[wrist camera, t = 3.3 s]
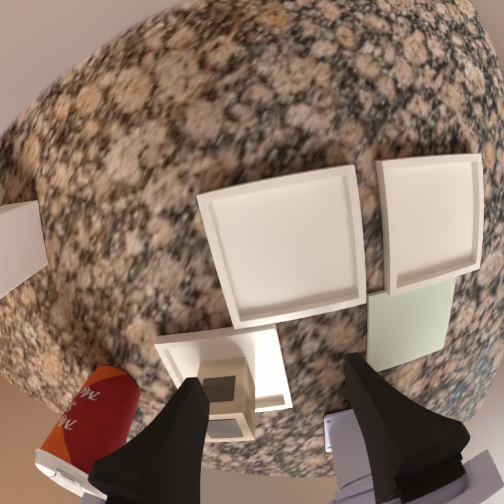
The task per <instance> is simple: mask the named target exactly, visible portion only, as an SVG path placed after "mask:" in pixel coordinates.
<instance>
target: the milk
mask: <svg viewBox="0 0 504 504" xmlns="http://www.w3.org/2000/svg"><path fill="white" fill-rule="evenodd" d="M47 265H48V259H47V254H46V249H45V244H44V238H43V233H42V226H41V220H40V212H39V204H38V200H35V201H28V202H21V203H14V204H8V205H3V206H0V299H1V298H2V297H3V296H5V295H6V294H7V293H9V292H10V291H11V290H13V289H14V288H15V287H17V286H18V285H19V284H21V283H22V282H24V281H25V280H26V279H28V278H29V277H31V276H32V275H33V274H35V273H36V272H38V271H39V270H41V269H42V268H44V267H45V266H47Z"/></svg>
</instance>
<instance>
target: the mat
mask: <svg viewBox="0 0 504 504" xmlns="http://www.w3.org/2000/svg"><path fill="white" fill-rule="evenodd" d="M455 279H456V277H454V278H451V279H448V280H445V281H442V282H439V283H436V284H432V285H429V286H426V287H423V288H419V289H416V290H413V291H409V292H406V293H402V294H399V295H395V296H392V297H390V296H389V295H388V294H387V293H386V292H385V290H381V291H377V292H374V293H370V294H367V352H366V361H367V363H368V364H369V365H370V366H371V367H372V368H373V369H374V370H375V371H376V372H378V371H382V370H385V369H388V368H391V367H394V366H397V365H400V364H403V363H406V362H409V361H412V360H414V359H417V358H420V357H422V356H425V355H428V354H430V353H433V352H435V351H438V350H440V349H443V345H444V341H445V337H446V333H447V328H448V323H449V318H450V313H451V307H452V301H453V294H454V287H455Z"/></svg>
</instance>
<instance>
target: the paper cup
mask: <svg viewBox="0 0 504 504" xmlns="http://www.w3.org/2000/svg"><path fill="white" fill-rule="evenodd" d="M139 397H140V388H139V386H138V384H137V383H136V381H135V380H134V379H133V378H132V377H131V376H130V375H129V374H127V373H126V372H124V371H122V370H121V369H119V368H116V367H113V366H109V365H102V366H99V367H98V368H97V369H96V370H95V371H94V372H93V374H92V375H91V376H90V378H89V379H88V380H87V381H86V383H85V384H84V386H83V387H82V388H81V390H80V391H79V392H78V394H77V395H76V397H75V398H74V399H73V401H72V402H71V404H70V405H69V406H68V408H67V409H66V411H65V412H64V414H63V415H62V417H61V418H60V420H59V421H58V422H57V424H56V425H55V427H54V428H53V430H52V431H51V433H50V435H49V436H48V438H47V439H46V441H45V442H44V444H43V445H42V447H41V449H36V450H35V453H36V455H37V456H36V459H35V465H36V466H37V468H38V469H39V470H41V471H42V472H43V473H44V474H45V475H47V476H48V477H49V478H51V479H52V480H53V481H55V482H56V483H58V484H59V485H61V486H62V487H64V488H66V489H68V490H70V491H71V492H73V493H75V494H77V495H79V496H81V497H83V494H84V492H87V493H89V494H92V495H95V496H98V497H100V498H103V499H105V500H106V499H107V496H106V495H105V494H103V493H102V492H100V491H99V490H98V489H96V488H95V487H93V486H92V485H91V484H90V483H89V482H88V480H87V478H88V476H89V473H90V471H91V469H92V466H93V464H94V462H95V461H96V460H99V459H101V458H103V457H105V456H107V455H109V454H111V453H112V452H114V451H116V450H117V449H119V448H121V447H122V446H124V445H125V443H126V440H127V437H128V433H129V430H130V427H131V423H132V420H133V417H134V414H135V410H136V407H137V404H138V401H139Z"/></svg>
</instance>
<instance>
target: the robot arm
mask: <svg viewBox="0 0 504 504" xmlns="http://www.w3.org/2000/svg"><path fill="white" fill-rule="evenodd" d="M345 385H346V389H347V393H348V397H349V400H350V403H351V406H352V408H353V409H349V410H345V411H341V412H337V413H332V414H328V415H325V416H324V433H325V450H326V452H332V455H333V461H334V466H335V471H336V477H337V482H338V488H339V490H338V491H335V492H334V495H335V499H332V500H330V502H329V503H328V504H480V503H482V502H483V501H485V500H486V499H488V498H489V497H491V496H492V495H493V494H495V493H496V492H497V491H498V490H500V489H501V488H503V486H504V483H503V481H502V479H501V476H500V474H499V472H498V470H497V468H496V466H495V464H494V461H493V459H492V457H491V456H490V453H489V452H488V450H485V451H483V452H482V453H480V454H479V455H477V456H475V457H474V458H473V459H471V460H469V461H467V462H466V463H465V464H464V465H462V463H461V460H462V455H461V451H462V450H463V449H464V448H465V446H466V445H467V444H468V442H469V440H470V435H469V433H468V431H467V429H466V428H465V426H464V425H463V424H462V422H461V421H457V420H454V419H451V418H447V417H444V416H442V415H439V414H437V413H434V412H432V411H430V410H428V409H426V408H424V407H422V406H421V405H419V404H417V403H415V402H414V401H412V400H410V399H409V398H407V397H406V396H405V395H403V394H402V393H400V392H399V391H398V390H396V389H395V388H394V387H393V386H392V385H390V384H389V383H388V382H387V381H386V380H385V379H384V378H382V377H381V376H380V375H379V374H378V373H377V372H376V371H375V370H374V369H373V368H372V367H371V366H370V365H369V364H368V363H367V361H366V360H365V359H364V358H363V357H362V356H361V355H360V353H358V352H355V353H351V354H347V355H345ZM209 412H210V401H209V399H208V397H207V395H206V393H205V391H204V389H203V387H202V385H201V383H200V381H199V379H198V377H188V378H186V379H185V380H184V381H183V383H182V384H181V386H180V387H179V388H178V390H177V391H176V392H175V394H174V395H173V396H172V398H171V399H170V400H169V402H168V403H167V404H166V406H165V407H164V408H163V409H162V411H161V412H160V413H159V414H158V415H157V416H156V417H155V419H154V420H153V421H152V422H151V423H150V424H149V425H148V426H147V427H146V428H145V429H144V430H143V431H142V432H140V433H139V434H138V435H137V436H136V437H134V438H133V439H132V440H130V441H129V442H128V443H127V444H125V445H124V446H122V447H121V448H119V449H117V450H116V451H114V452H112V453H111V454H109V455H107V456H105V457H103V458H101V459H99V460H96V461H95V462H94V464H93V466H92V469H91V471H90V473H89V476H88V478H87V480H88V482H89V483H90V484H91V485H92V486H93V487H95V488H96V489H98V490H99V491H100V492H102V493H103V494H105V495H106V496H107V499H106V500H105V499H103V498H100V497H98V496H95V495H92V494H89V493H87V492H84V494H83V497H82V499H81V502H80V504H200V473H201V459H202V453H203V448H204V443H205V438H206V433H207V427H208V422H209Z"/></svg>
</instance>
